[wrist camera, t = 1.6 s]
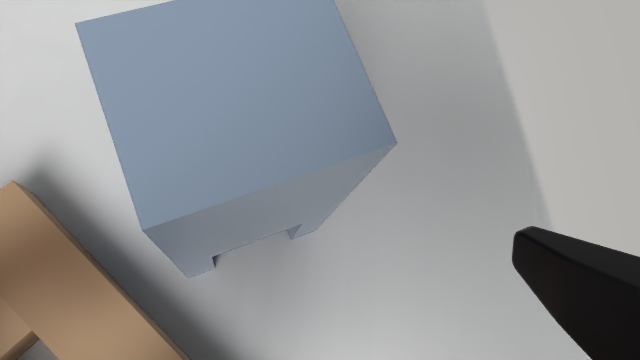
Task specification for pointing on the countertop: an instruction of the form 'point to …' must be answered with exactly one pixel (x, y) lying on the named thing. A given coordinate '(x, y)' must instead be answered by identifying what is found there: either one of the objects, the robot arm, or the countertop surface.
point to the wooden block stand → (65, 293)
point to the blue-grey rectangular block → (234, 118)
